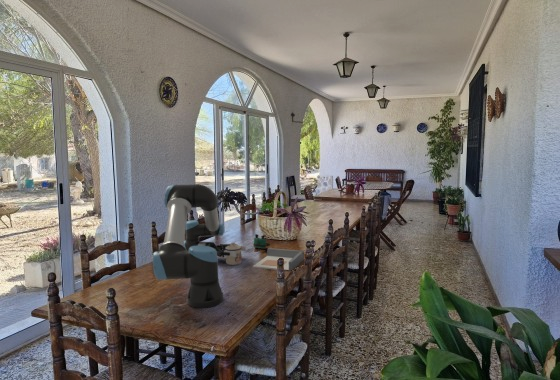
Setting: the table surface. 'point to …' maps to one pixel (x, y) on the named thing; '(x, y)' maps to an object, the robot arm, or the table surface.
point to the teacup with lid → (237, 249)
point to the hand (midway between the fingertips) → (240, 251)
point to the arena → (289, 256)
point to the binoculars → (260, 243)
